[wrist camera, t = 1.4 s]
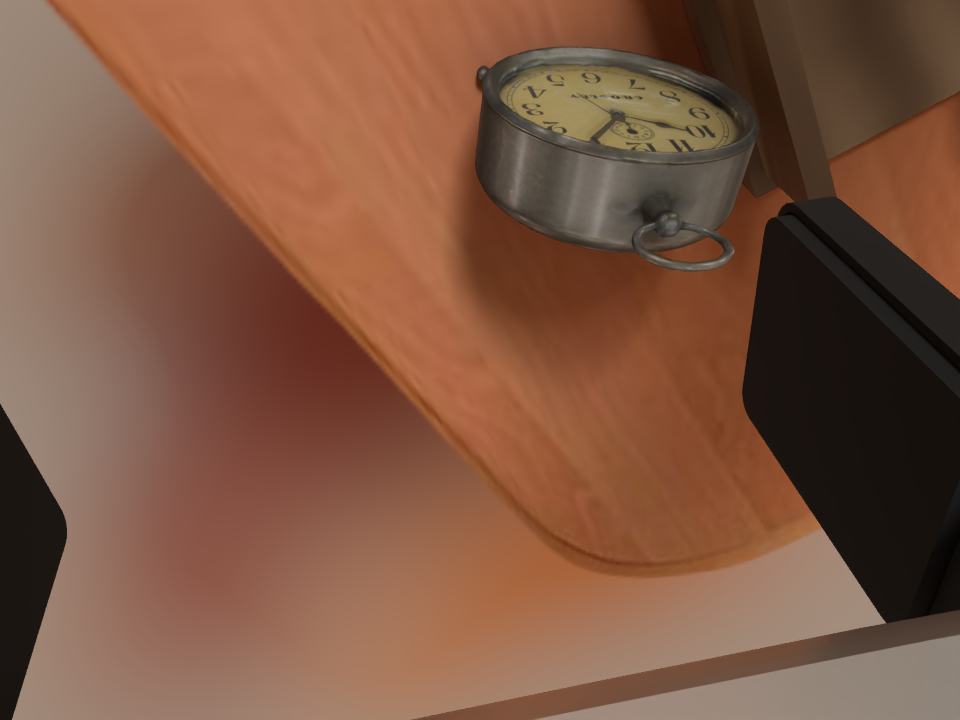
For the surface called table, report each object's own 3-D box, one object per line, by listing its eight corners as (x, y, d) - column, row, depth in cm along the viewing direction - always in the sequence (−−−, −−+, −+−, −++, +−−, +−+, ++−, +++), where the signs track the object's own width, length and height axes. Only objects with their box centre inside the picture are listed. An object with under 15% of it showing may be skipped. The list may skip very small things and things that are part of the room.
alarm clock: (691, 44, 38) (882, 195, 26) (665, 154, 41) (823, 337, 29) (460, 31, 36) (542, 187, 23) (451, 148, 39) (519, 342, 27)
